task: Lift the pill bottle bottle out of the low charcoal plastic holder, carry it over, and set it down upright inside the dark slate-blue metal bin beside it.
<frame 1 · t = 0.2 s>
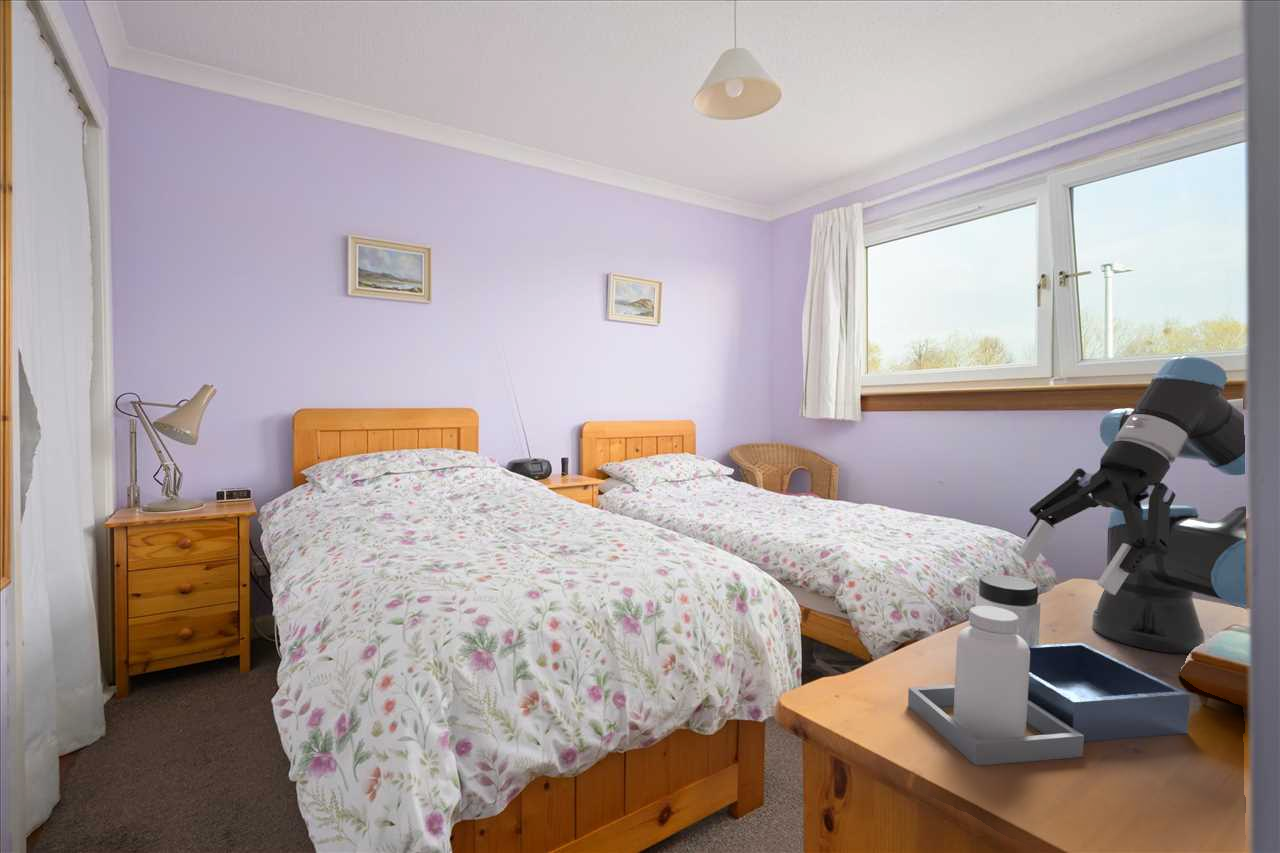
hand: (1062, 573, 90), 16 cm above the dresser, tool tilted 35°, fingers open, 13 cm apart
holder: (989, 729, 78), on the dresser
pill bottle: (989, 731, 78), on the dresser
bin: (1076, 705, 84), on the dresser
jar: (1005, 656, 100), on the dresser
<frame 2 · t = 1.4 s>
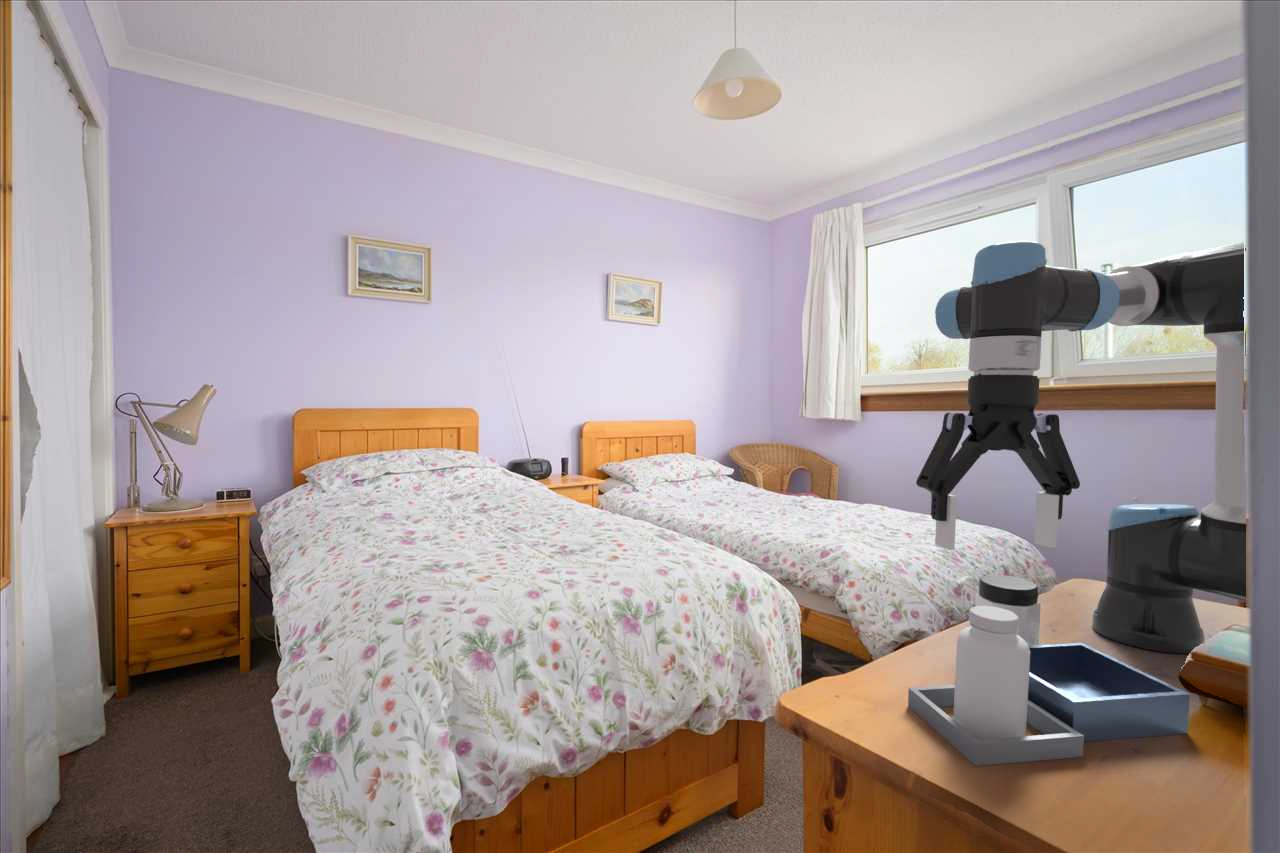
hand: (995, 546, 77), 23 cm above the dresser, tool pointing down, fingers open, 13 cm apart
nothing on the dresser moved.
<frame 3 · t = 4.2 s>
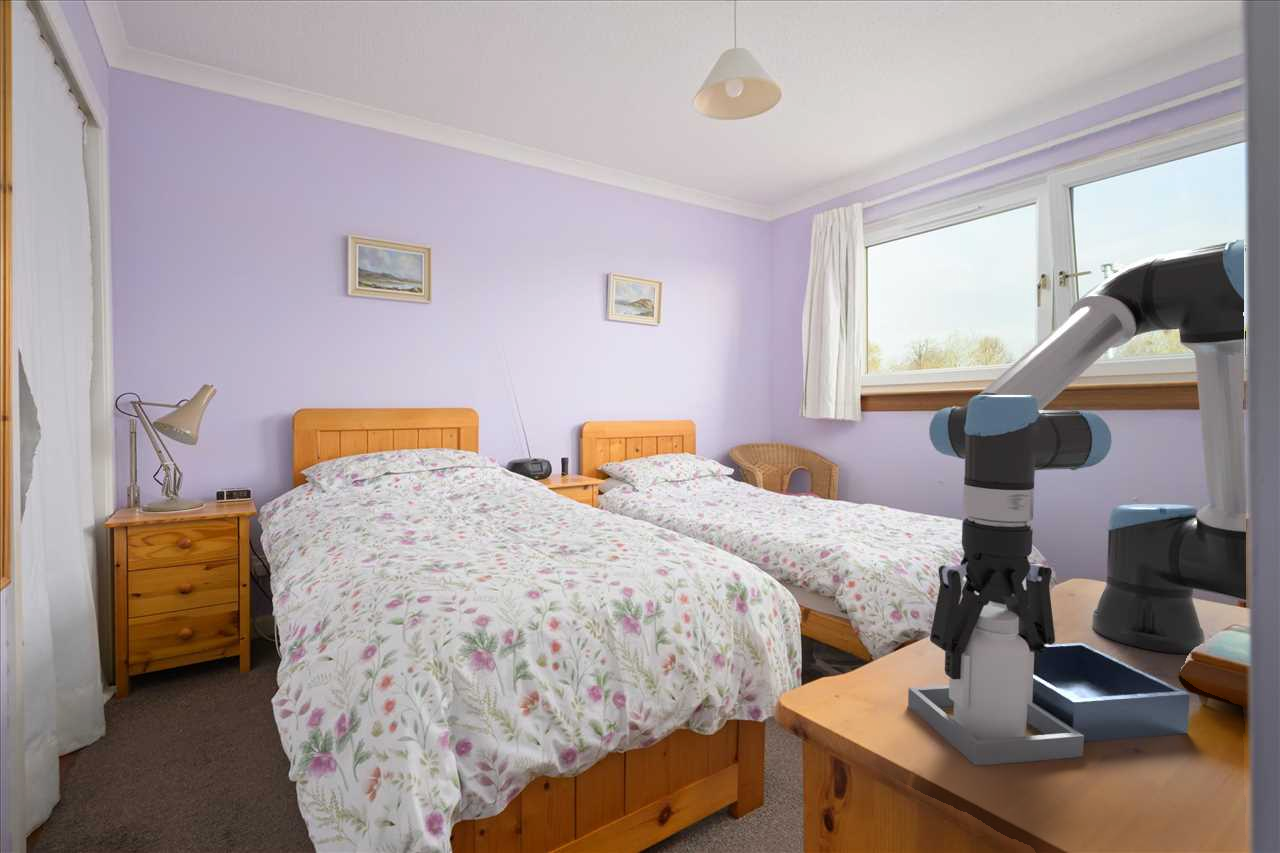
hand: (990, 700, 78), 4 cm above the dresser, tool pointing down, fingers closed on pill bottle, 8 cm apart
pill bottle: (988, 731, 78), on the dresser, touching gripper
everything else where it was.
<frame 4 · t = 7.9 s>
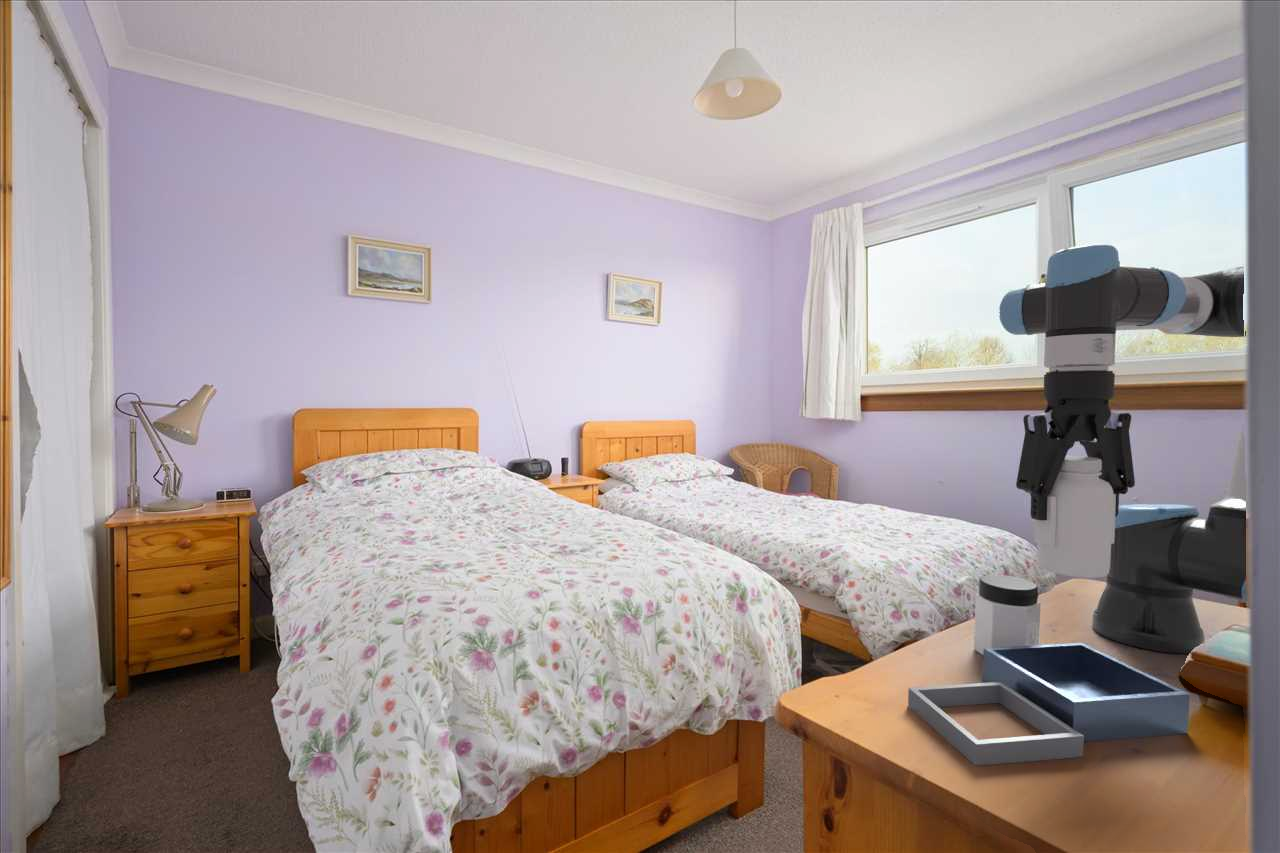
hand: (1073, 542, 82), 22 cm above the dresser, tool pointing down, fingers closed on pill bottle, 8 cm apart
pill bottle: (1072, 571, 83), point 19 cm above the dresser, touching gripper
everything else where it was.
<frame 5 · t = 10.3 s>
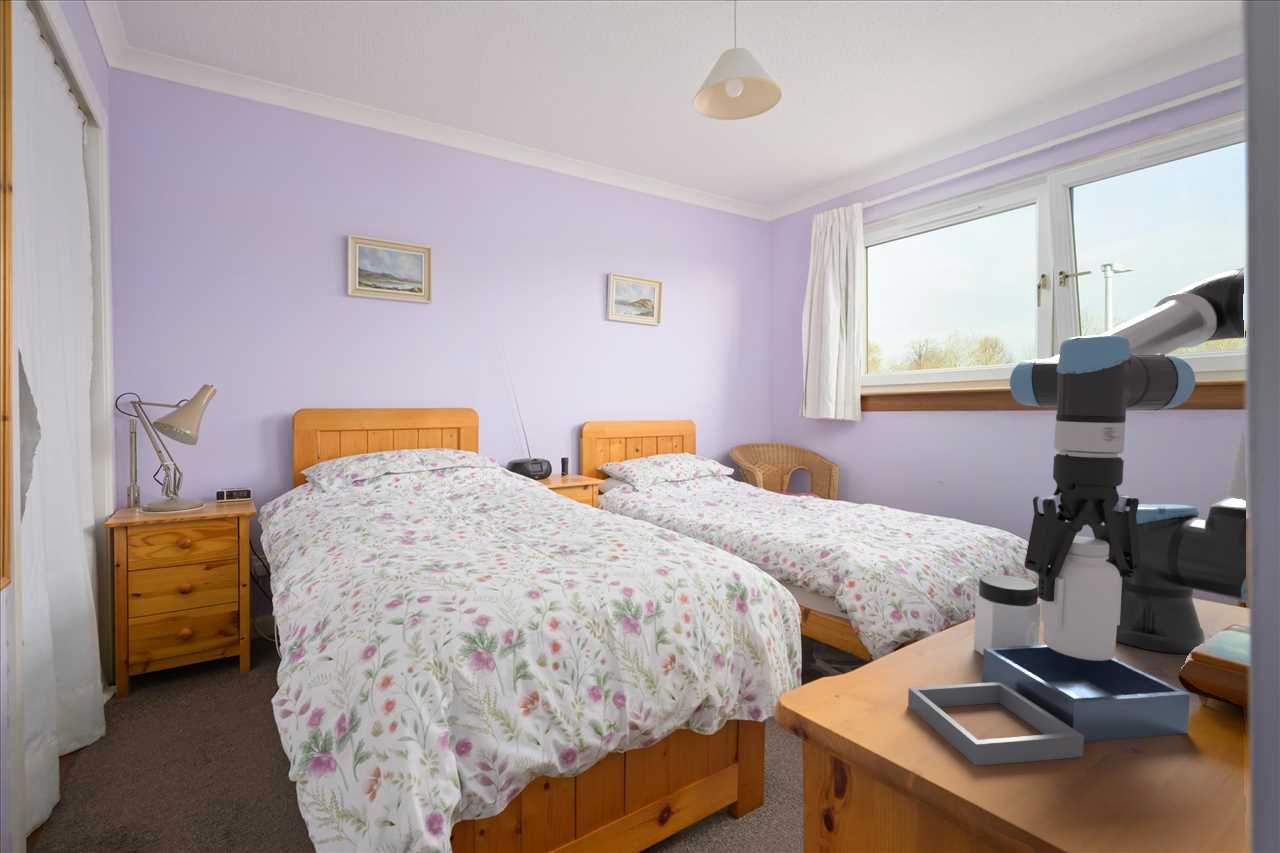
hand: (1079, 622, 84), 11 cm above the dresser, tool pointing down, fingers closed on pill bottle, 8 cm apart
pill bottle: (1078, 651, 84), point 7 cm above the dresser, touching gripper
everything else where it was.
when the fingers open (7 cm above the dresser, at t = 12.1 s): pill bottle drops 2 cm, resting on bin.
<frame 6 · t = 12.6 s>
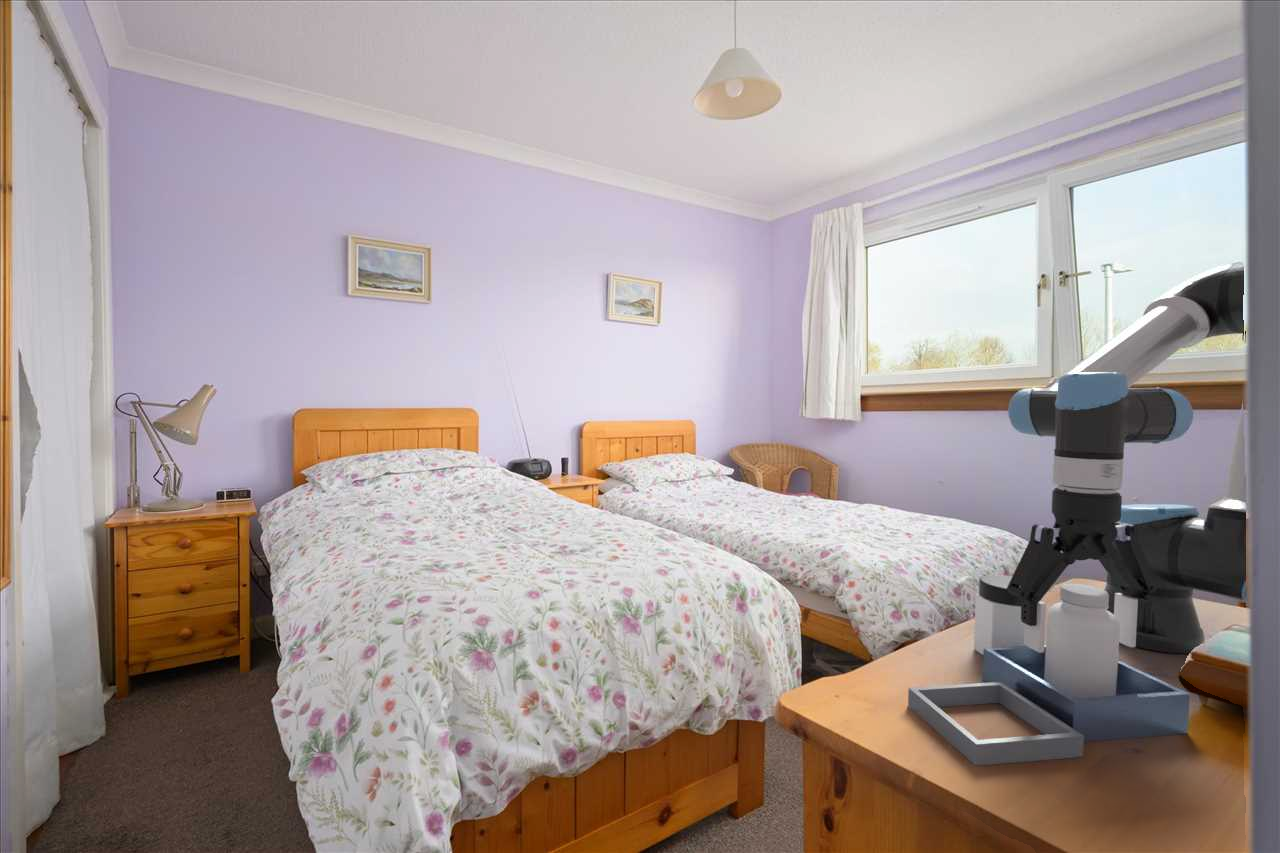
hand: (1079, 646, 84), 8 cm above the dresser, tool pointing down, fingers open, 13 cm apart
pill bottle: (1078, 699, 84), point 1 cm above the dresser, touching bin
everything else where it was.
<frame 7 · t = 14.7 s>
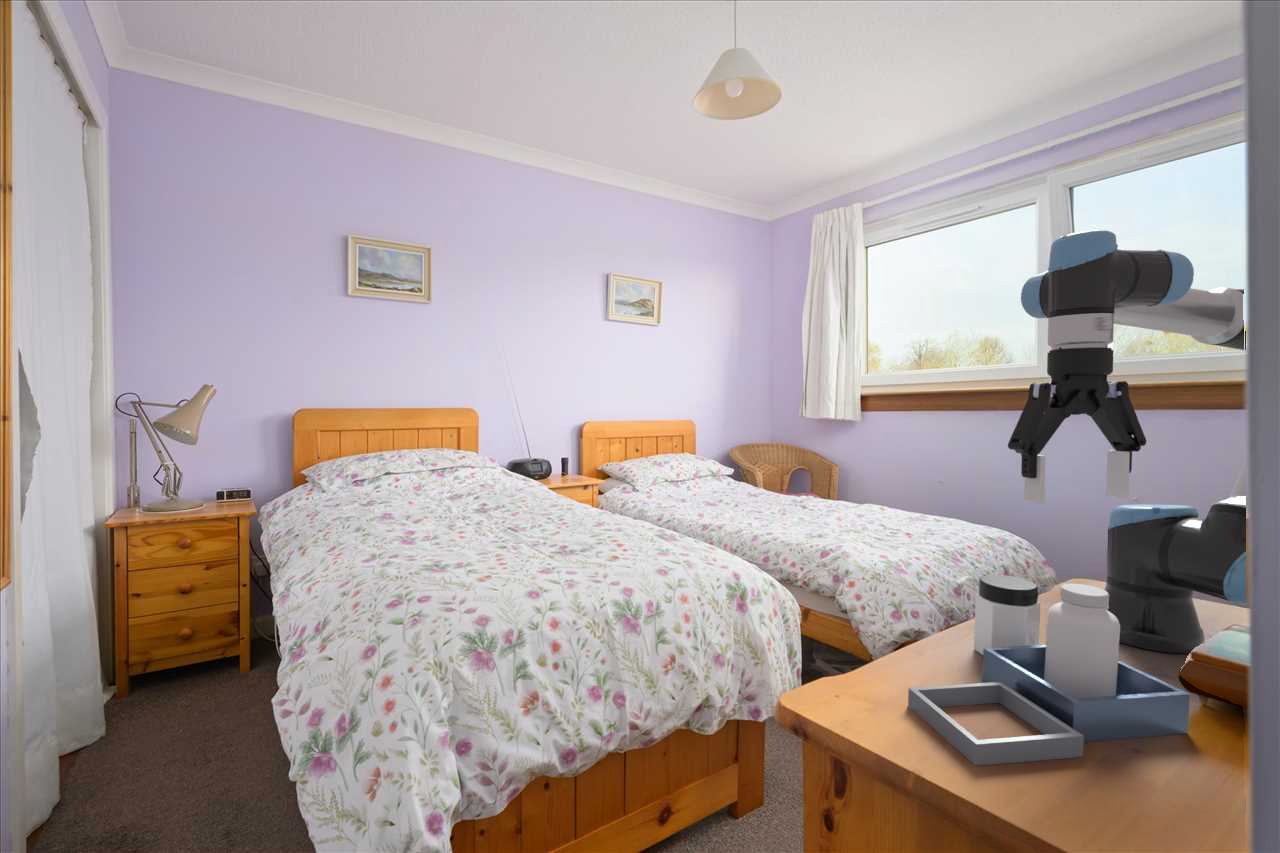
hand: (1076, 499, 88), 27 cm above the dresser, tool pointing down, fingers open, 13 cm apart
nothing on the dresser moved.
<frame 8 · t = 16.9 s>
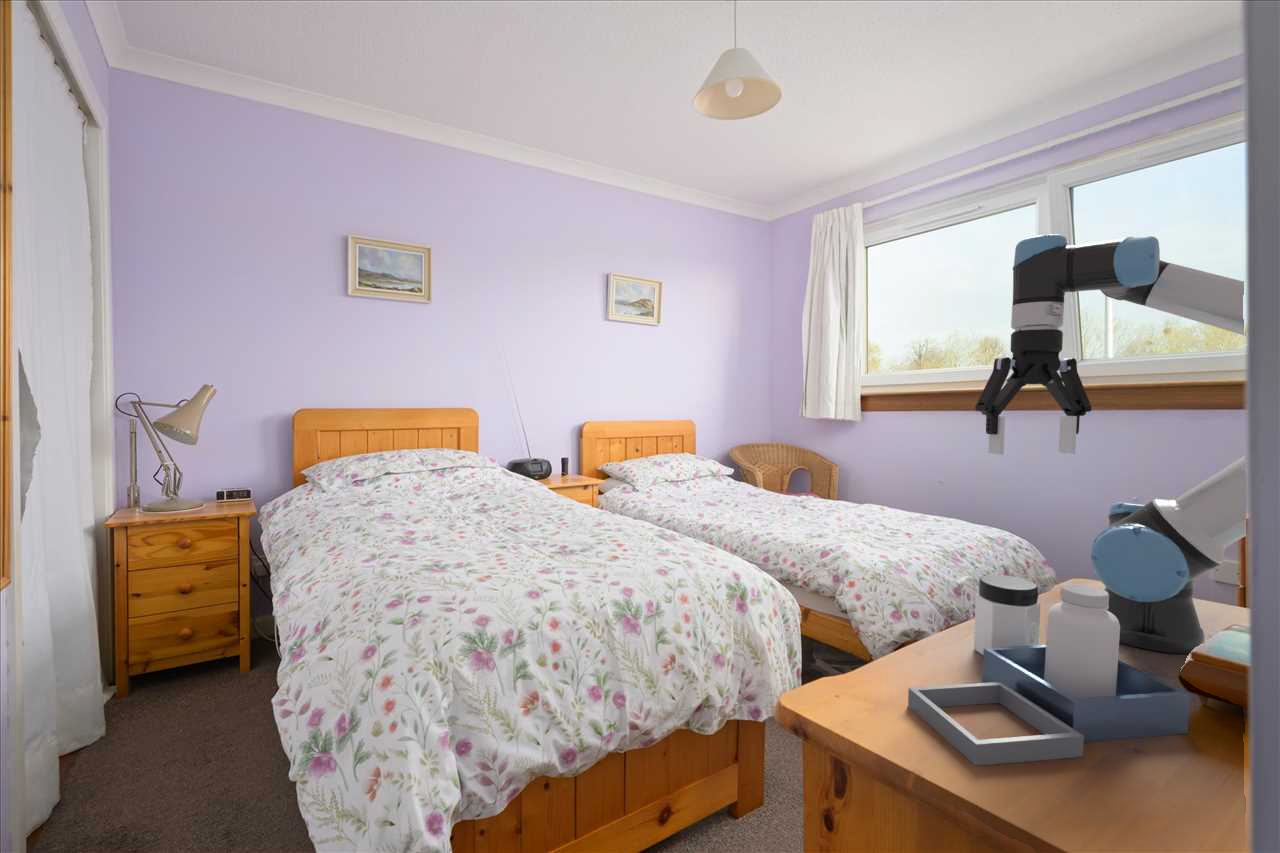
hand: (1031, 453, 108), 32 cm above the dresser, tool pointing down, fingers open, 13 cm apart
nothing on the dresser moved.
at the end: pill bottle inside the target area on the bin (0.3 cm from its centre), point 0.8 cm above the bin's base; pill bottle tilted 0°; the gripper is holding nothing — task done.
